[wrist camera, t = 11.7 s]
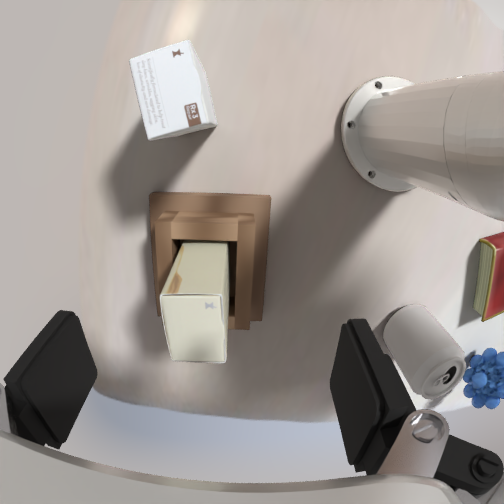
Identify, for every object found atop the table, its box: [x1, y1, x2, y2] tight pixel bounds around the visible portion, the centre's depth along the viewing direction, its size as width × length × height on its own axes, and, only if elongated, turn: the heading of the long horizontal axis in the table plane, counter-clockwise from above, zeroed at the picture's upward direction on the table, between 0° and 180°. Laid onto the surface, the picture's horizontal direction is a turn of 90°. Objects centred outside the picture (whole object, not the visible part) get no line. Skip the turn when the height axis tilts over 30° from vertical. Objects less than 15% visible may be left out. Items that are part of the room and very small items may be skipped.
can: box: [383, 304, 466, 399], centre depth 33 cm, size 8×8×12 cm
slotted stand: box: [149, 192, 271, 330], centre depth 31 cm, size 12×14×6 cm
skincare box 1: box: [129, 40, 218, 141], centre depth 22 cm, size 6×4×12 cm
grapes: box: [463, 348, 504, 409], centre depth 37 cm, size 12×7×12 cm, turn 169°
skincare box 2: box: [160, 239, 230, 363], centre depth 26 cm, size 6×4×12 cm
